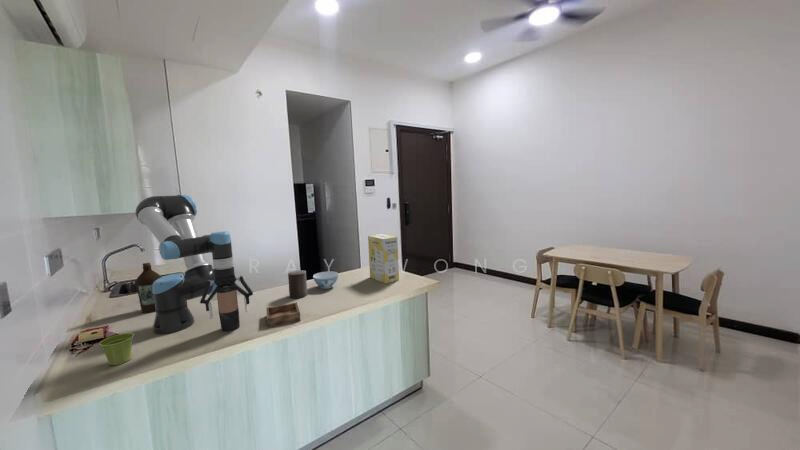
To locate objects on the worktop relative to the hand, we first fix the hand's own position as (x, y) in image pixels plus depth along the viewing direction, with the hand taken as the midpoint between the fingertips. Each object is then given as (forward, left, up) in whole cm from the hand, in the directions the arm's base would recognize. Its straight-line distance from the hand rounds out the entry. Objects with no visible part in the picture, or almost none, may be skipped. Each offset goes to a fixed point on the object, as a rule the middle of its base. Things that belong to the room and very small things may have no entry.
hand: (229, 314), depth 137 cm
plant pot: (-35, -11, -7) cm, 37 cm away
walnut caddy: (+22, 0, -7) cm, 23 cm away
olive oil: (-40, +46, -7) cm, 61 cm away
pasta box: (+86, +34, -7) cm, 93 cm away
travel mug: (0, 0, -7) cm, 7 cm away
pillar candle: (+32, +29, -7) cm, 44 cm away
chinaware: (+49, +36, -7) cm, 61 cm away
